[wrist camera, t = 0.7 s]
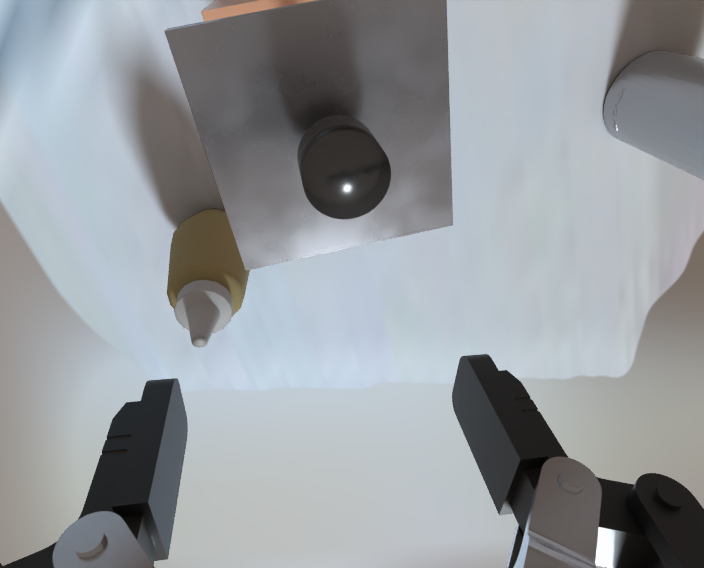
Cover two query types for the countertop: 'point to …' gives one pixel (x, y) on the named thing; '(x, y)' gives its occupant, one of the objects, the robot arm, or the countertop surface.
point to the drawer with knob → (323, 122)
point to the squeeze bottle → (205, 274)
